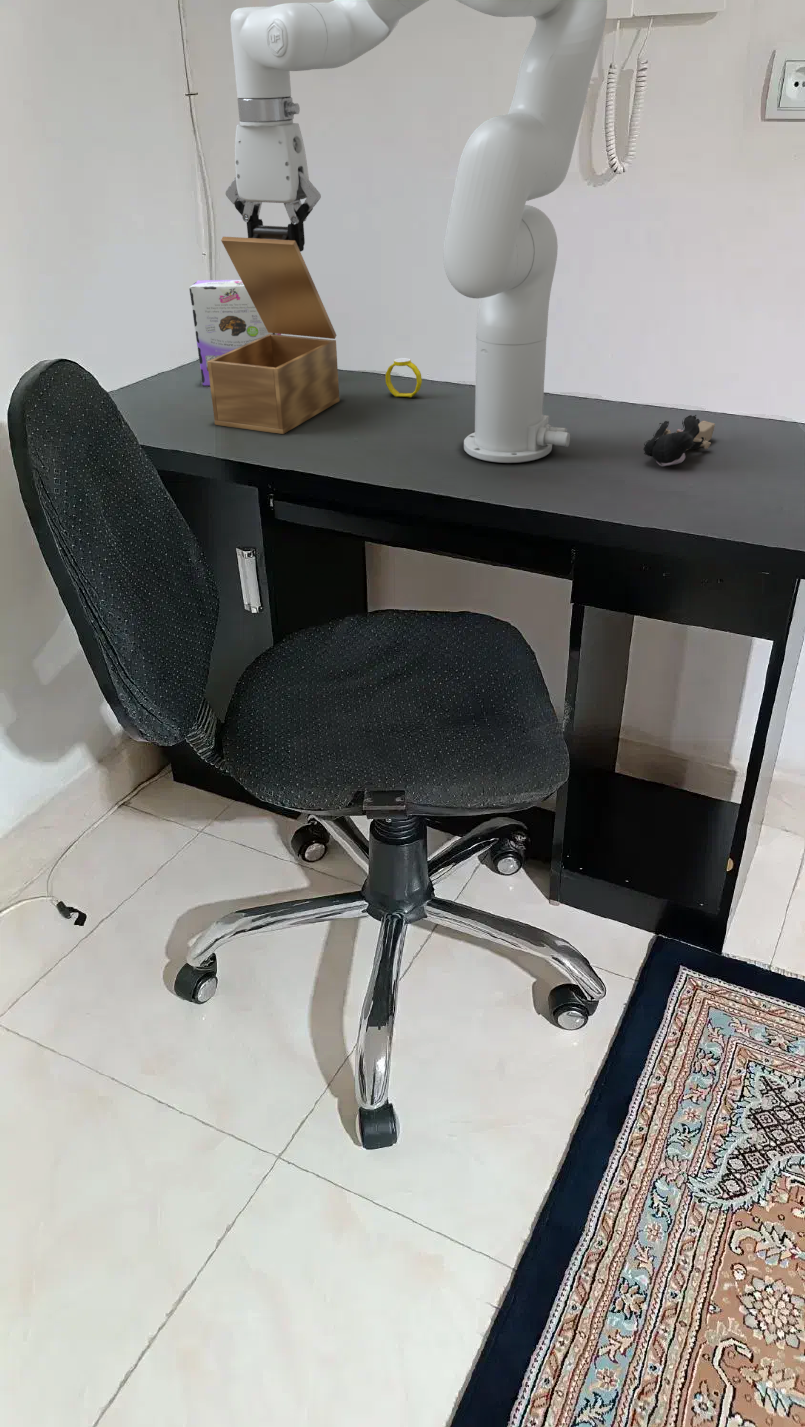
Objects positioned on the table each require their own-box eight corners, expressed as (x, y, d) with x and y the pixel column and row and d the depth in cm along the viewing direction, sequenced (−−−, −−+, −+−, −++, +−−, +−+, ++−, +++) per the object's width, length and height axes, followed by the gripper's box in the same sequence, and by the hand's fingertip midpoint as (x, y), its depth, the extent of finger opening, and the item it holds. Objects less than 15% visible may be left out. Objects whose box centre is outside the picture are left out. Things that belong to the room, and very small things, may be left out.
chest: (283, 434, 157) (277, 369, 152) (214, 424, 162) (206, 361, 157) (339, 401, 171) (336, 340, 166) (274, 393, 176) (269, 333, 170)
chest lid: (293, 244, 149) (306, 217, 150) (220, 240, 153) (234, 214, 155) (335, 339, 165) (346, 314, 167) (268, 332, 170) (280, 308, 171)
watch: (424, 395, 172) (423, 359, 169) (417, 400, 170) (416, 363, 167) (391, 392, 174) (389, 356, 171) (384, 397, 172) (382, 360, 169)
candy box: (286, 377, 184) (277, 277, 175) (279, 386, 179) (270, 284, 170) (209, 376, 185) (197, 278, 176) (201, 386, 180) (188, 285, 171)
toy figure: (668, 436, 153) (635, 463, 142) (679, 393, 150) (646, 418, 138) (715, 449, 151) (686, 477, 139) (727, 406, 147) (698, 432, 136)
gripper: (332, 111, 146) (339, 249, 156) (228, 110, 152) (241, 244, 162) (306, 115, 140) (315, 258, 150) (199, 114, 147) (214, 252, 157)
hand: (277, 249), depth 156 cm, fingers closed on chest lid, 6 cm apart
